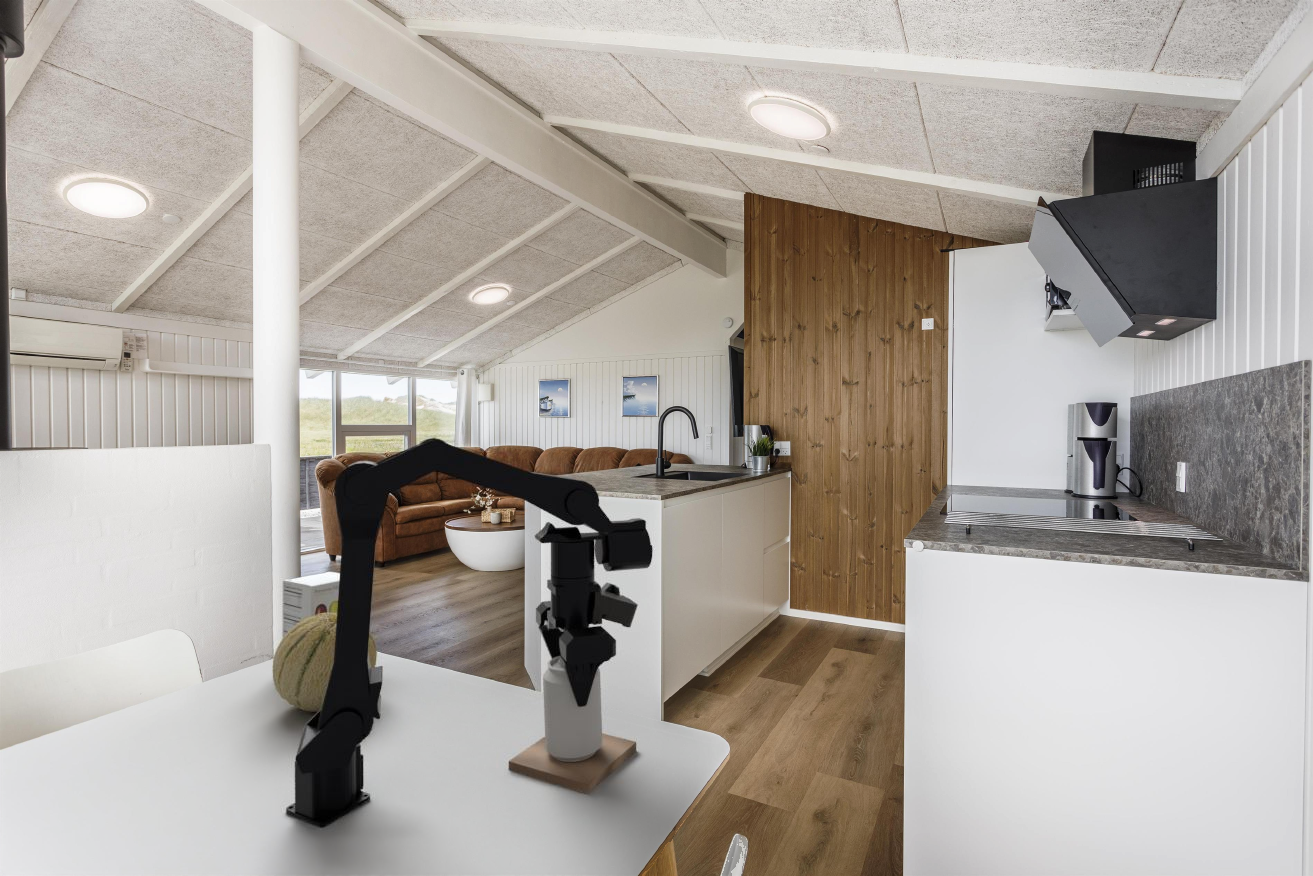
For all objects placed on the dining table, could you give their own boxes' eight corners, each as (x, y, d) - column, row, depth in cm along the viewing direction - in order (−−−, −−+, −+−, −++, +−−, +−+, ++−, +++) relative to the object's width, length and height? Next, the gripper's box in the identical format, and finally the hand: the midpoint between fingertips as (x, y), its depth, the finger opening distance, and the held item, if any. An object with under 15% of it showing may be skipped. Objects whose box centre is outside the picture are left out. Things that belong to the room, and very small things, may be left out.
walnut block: (587, 800, 79) (587, 784, 79) (508, 776, 84) (508, 761, 84) (636, 756, 89) (636, 741, 89) (563, 737, 95) (563, 723, 95)
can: (600, 764, 83) (597, 669, 83) (540, 766, 83) (537, 671, 83) (604, 736, 90) (601, 649, 90) (550, 738, 90) (547, 651, 90)
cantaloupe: (277, 697, 107) (276, 605, 107) (375, 683, 113) (375, 596, 113) (266, 736, 94) (266, 631, 93) (378, 717, 100) (378, 618, 100)
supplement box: (310, 684, 113) (309, 586, 112) (280, 674, 117) (279, 580, 117) (361, 667, 121) (360, 575, 121) (330, 658, 126) (330, 570, 125)
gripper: (656, 584, 81) (655, 711, 81) (609, 557, 98) (609, 661, 98) (567, 592, 77) (567, 726, 77) (535, 562, 94) (535, 671, 94)
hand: (572, 692), depth 87 cm, fingers open, 9 cm apart
